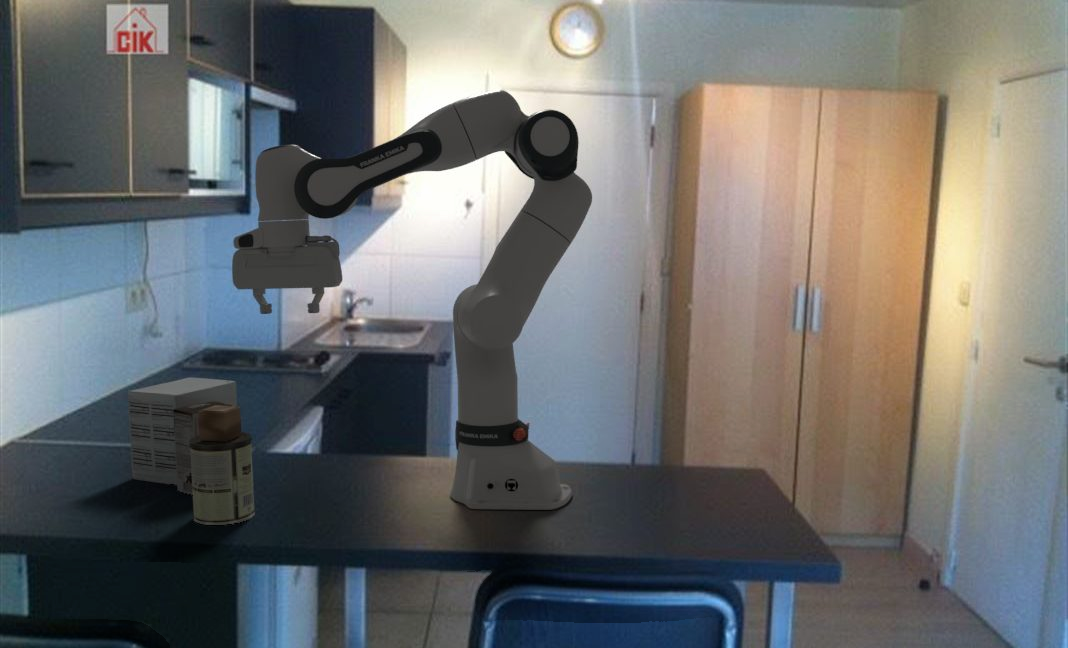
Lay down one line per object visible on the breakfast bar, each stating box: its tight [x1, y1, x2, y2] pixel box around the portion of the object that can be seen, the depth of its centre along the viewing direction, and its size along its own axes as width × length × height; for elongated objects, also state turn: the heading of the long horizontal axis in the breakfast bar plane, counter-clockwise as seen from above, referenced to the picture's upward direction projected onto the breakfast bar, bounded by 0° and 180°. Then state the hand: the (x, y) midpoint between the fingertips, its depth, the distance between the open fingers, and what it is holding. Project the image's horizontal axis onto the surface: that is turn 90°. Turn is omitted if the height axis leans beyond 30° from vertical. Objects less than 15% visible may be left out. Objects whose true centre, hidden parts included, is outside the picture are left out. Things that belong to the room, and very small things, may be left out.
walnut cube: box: [198, 405, 242, 442], centre depth 166 cm, size 5×5×5 cm
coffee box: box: [173, 401, 232, 496], centre depth 184 cm, size 9×6×16 cm
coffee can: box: [189, 431, 256, 526], centre depth 167 cm, size 10×10×14 cm
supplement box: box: [126, 377, 238, 486], centre depth 196 cm, size 17×13×18 cm
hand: (289, 313), depth 175 cm, fingers open, 8 cm apart
